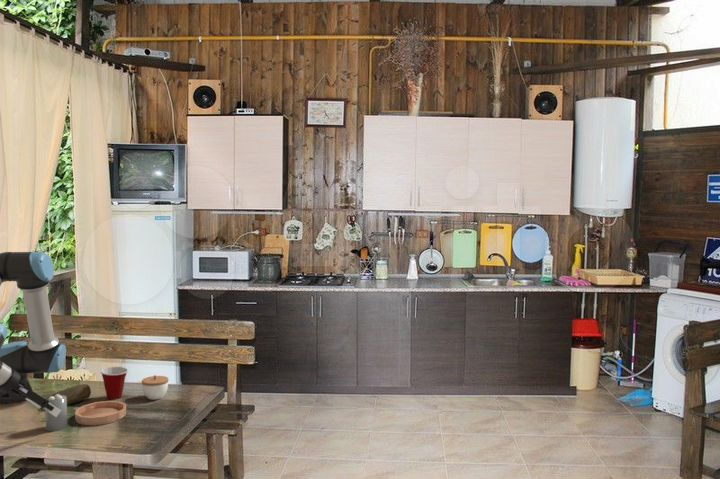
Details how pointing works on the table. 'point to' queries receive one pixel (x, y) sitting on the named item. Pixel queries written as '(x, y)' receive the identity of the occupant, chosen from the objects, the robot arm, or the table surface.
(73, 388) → the stone weight
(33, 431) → the table surface
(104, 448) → the table surface
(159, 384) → the lidded jar
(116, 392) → the plastic cup
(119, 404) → the terracotta bowl
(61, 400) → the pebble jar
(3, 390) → the robot arm
